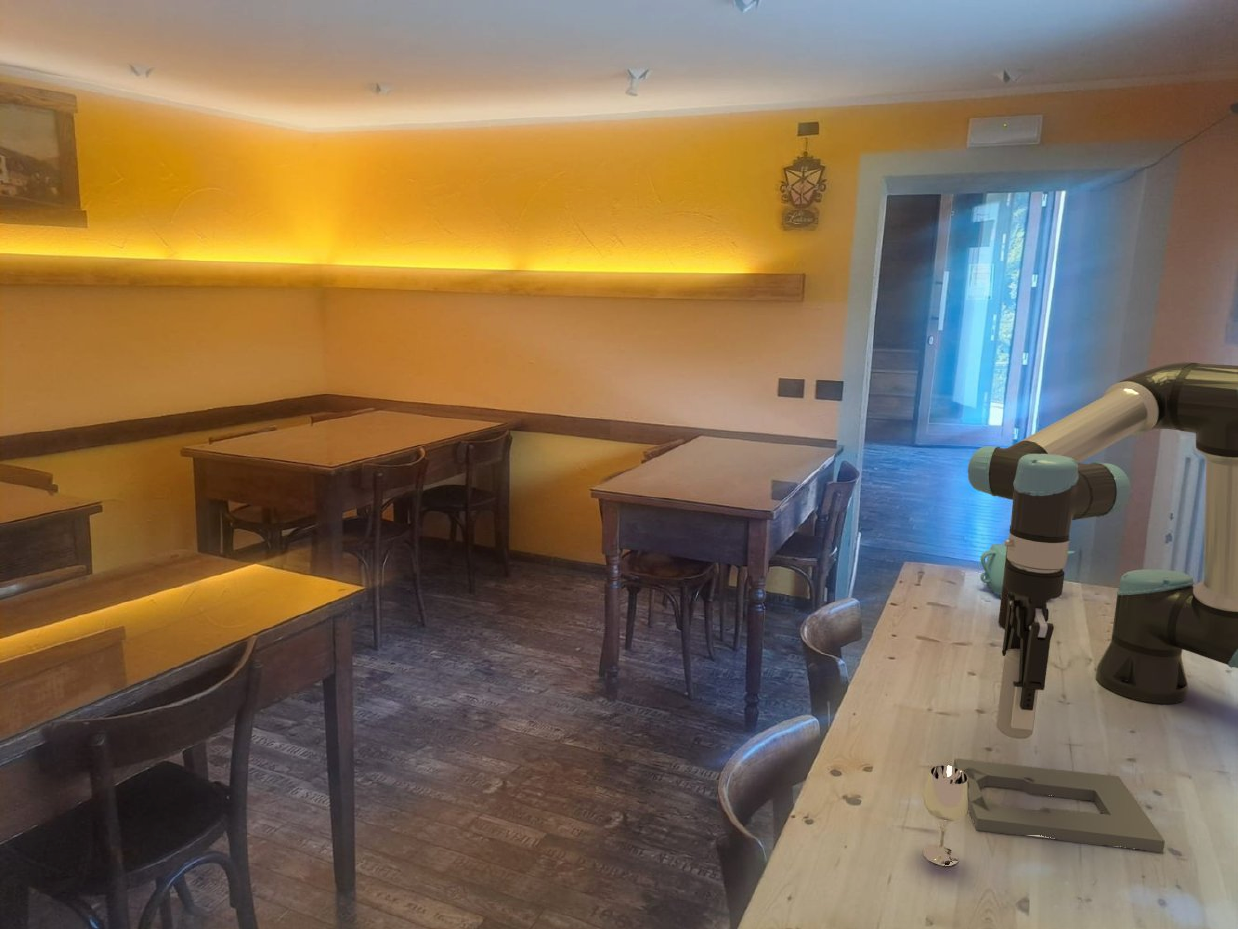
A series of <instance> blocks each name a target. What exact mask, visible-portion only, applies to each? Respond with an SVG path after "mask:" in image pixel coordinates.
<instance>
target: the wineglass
mask: <svg viewBox="0 0 1238 929" xmlns="http://www.w3.org/2000/svg"><path fill="white" fill-rule="evenodd" d="M923 788H924V789H923V794H922V797H923V805H924V807H925V809H926V811H927V812H928V814H929V815H930V816H932V817H933V818H935V819H936V820H938V821H940V822H939V829H940V838H939V839H940V840H939V844H930V845H927V846H925V847H924V848H923V850H922V853H923V854H922V855H923V856H924V858H925V857H926V858H925V860H927V861H928V862H930V861H932V862H934V863H936V864H938V863H939V864H940V865H944V864H945V865H949V864H950V862H952V861H958V862H959V857H957V856H958V854H956V852H955V851H954V850H952V849H950V848H949V847H947V846H944V844H945V836H946V833H947V831H948V826H949V824H948V823H951V824H952V823H957V822H960V821H962V820H963V819H964V818H966V817H967V815H968V813H969V807H970V787H969V781H968V777H967V775H966V774H965V773H964V772H963V771H961V770H960V769H957V768H955V767H954V766H951V765H946V764H945V765H944V764H938V765H933V766H932V767H931V768H930V771H929V773H928V774H927V778H926V780H925V783H924V787H923ZM952 863H953V862H952ZM945 865H944V866H945Z"/></svg>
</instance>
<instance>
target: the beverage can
mask: <svg viewBox="0 0 1238 929" xmlns="http://www.w3.org/2000/svg"><path fill="white" fill-rule="evenodd" d="M1003 657H1004V659H1003V664H1002V675H1001V681H1000V692H999V701H998V709H997V714H996V715H997V718H996V728H997V729H998V731H999V733H1001V734H1002V735H1004V736H1006V737H1008V738H1012V739H1017V740H1025V739H1028V738H1029V737H1031V736H1032V735H1033V733H1034V728H1033V729H1032V730H1028V729H1018V728H1012V727H1011V718H1012V710H1013V702H1014V694H1015V686H1014V685H1013V681H1015V682H1018V681H1019V665H1020V649H1009V650H1007V651H1006V655H1005V656H1003ZM1038 693H1039V690H1037V697H1036V705H1035V713H1034V721H1033V727H1034V725H1035V720H1036V719H1035V718H1036V711H1037V710H1036V709H1037V703H1038Z"/></svg>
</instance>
